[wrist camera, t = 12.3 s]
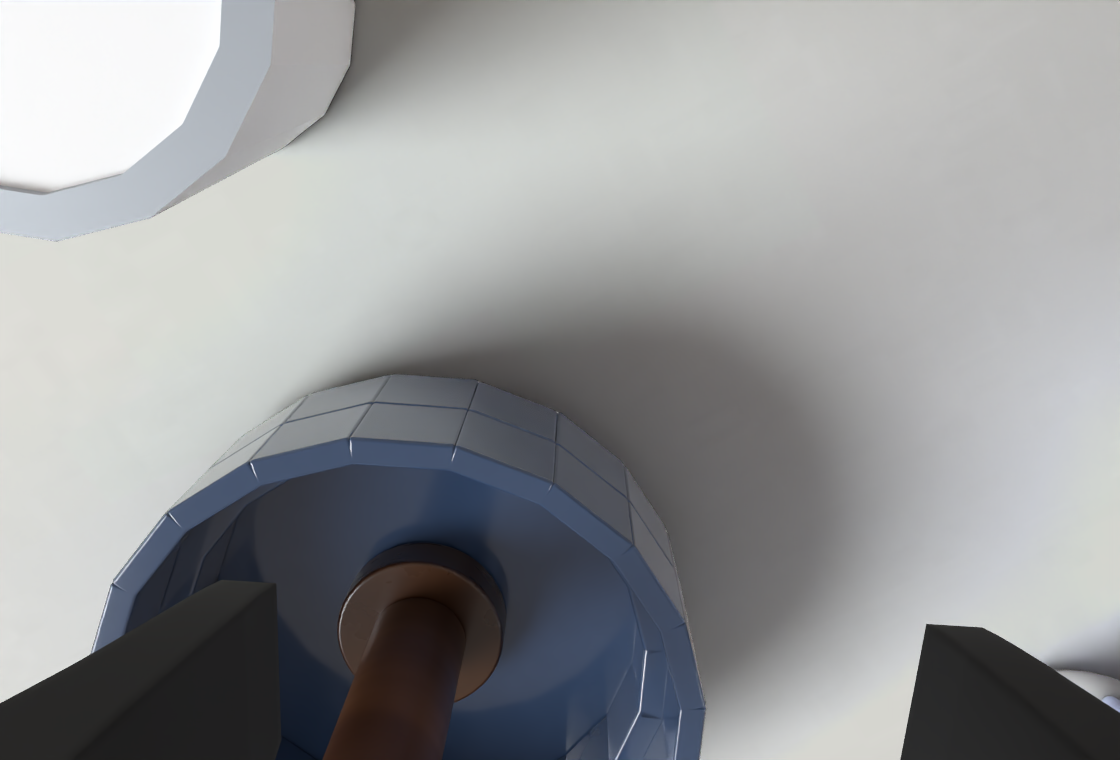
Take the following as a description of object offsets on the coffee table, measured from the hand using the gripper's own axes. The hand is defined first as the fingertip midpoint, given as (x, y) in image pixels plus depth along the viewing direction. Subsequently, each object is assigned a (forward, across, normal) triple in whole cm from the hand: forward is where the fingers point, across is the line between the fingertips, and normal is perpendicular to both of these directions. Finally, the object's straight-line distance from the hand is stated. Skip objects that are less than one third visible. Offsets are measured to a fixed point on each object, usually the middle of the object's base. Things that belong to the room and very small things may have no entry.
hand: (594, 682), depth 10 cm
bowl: (+10, +3, +5) cm, 12 cm away
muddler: (+10, +3, +5) cm, 11 cm away
